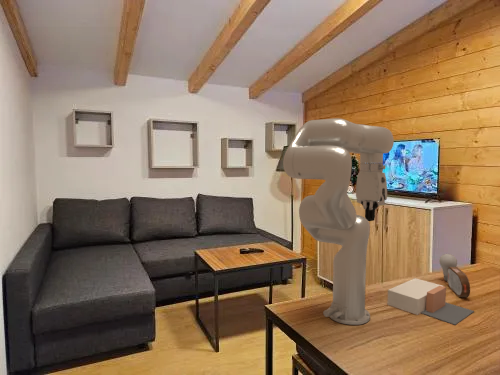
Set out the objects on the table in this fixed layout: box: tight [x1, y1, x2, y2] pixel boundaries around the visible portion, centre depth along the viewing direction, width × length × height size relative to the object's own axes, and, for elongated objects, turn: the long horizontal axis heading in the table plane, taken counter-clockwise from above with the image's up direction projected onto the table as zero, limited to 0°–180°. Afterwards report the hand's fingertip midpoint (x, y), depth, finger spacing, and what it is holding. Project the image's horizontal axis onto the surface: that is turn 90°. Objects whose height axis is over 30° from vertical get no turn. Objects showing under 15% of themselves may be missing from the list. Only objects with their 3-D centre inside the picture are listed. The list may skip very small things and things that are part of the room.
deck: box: [387, 277, 445, 316], centre depth 117 cm, size 18×10×5 cm, turn 128°
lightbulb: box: [438, 253, 458, 283], centre depth 136 cm, size 6×6×11 cm
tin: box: [446, 266, 471, 299], centre depth 125 cm, size 15×3×8 cm, turn 168°
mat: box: [420, 301, 475, 326], centre depth 109 cm, size 14×10×1 cm
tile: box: [426, 285, 447, 313], centre depth 112 cm, size 9×6×2 cm
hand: (369, 220), depth 123 cm, fingers closed
